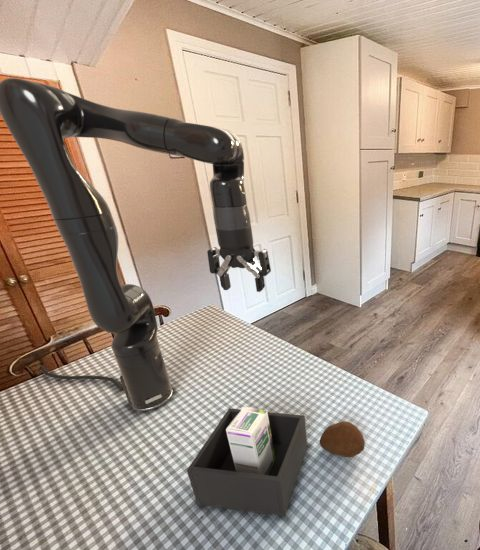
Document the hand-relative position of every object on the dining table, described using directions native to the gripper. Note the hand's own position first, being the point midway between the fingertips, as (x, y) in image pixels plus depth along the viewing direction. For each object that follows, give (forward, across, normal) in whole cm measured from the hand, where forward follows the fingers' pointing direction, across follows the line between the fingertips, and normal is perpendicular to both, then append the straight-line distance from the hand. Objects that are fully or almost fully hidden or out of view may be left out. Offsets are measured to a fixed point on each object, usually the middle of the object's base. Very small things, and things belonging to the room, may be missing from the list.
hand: (243, 289), depth 75 cm
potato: (+32, -27, +15) cm, 45 cm away
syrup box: (+32, -10, +23) cm, 40 cm away
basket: (+32, -10, +23) cm, 41 cm away
